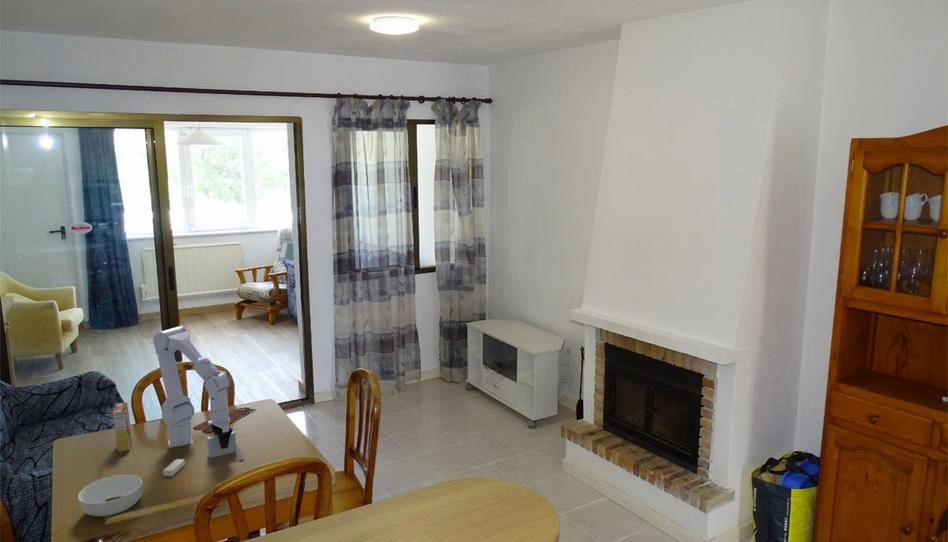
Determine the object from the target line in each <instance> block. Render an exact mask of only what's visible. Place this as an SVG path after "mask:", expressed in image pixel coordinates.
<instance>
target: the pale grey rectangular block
mask: <svg viewBox="0 0 948 542" xmlns="http://www.w3.org/2000/svg"><path fill="white" fill-rule="evenodd" d="M206 445H207V456H208V458H209V459H212V458H215V457H216V458H217V457H219V456H220V457H221V456H224V455H228V454H232V453H235V455H236V454H237V451H236V446H237V438H236V432H235V430H233V431H232V433H231V435H230V439H229V444H228V448H224V449H221V446H220V442H219V439H218V436H217V434H216V435H214V434H213V435H211V434H210V435H208V436H206Z"/></svg>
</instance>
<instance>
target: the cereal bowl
mask: <svg viewBox="0 0 948 542" xmlns="http://www.w3.org/2000/svg"><path fill="white" fill-rule="evenodd" d="M143 491H144V483H143V479H142V477H139V476H137V475H135V474H134V475H133V474H117V475H113V476H107V477H105V478H101V479H98V480H95V481H93V482H91V483H90V484H88V485H86V486H85V487H83V488H82V489H81V490H80V492H79V493H78V495H77V500H78V504H79V507H80V509H81V510H82V511H83V513H85V514H87V515H89V516H94V517H108V516H109V517H110V516H112V517H113V516H115V515H117V514H119V513H123V512H124V511H127V510H128V509H129V508H131V507H133V506H134V505H135V504H136V503H137V502H138V501H139V500H140V499H141V496H142V495H143ZM118 497H119V498H118ZM113 498H115V499H113ZM109 499H111V500H109ZM107 500H108V501H107Z"/></svg>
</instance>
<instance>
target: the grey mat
mask: <svg viewBox="0 0 948 542" xmlns="http://www.w3.org/2000/svg"><path fill="white" fill-rule="evenodd" d="M236 451H237V454H235V456H236V458H237V460H238V461H239V462H242V461H245V459H244V457H243V455H242V452H241V449H240V448H239V445H236Z"/></svg>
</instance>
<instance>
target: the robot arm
mask: <svg viewBox="0 0 948 542" xmlns="http://www.w3.org/2000/svg"><path fill="white" fill-rule="evenodd" d="M152 341H153V345H154V351H155V353H156V356H157V359H158V364H159V369H160V373H161V377H162V382H163V385H164V391H165V395H166V400H165V401H164V402H163V404H162V405H161V410H162V411H161V412H162V414H161V418H162V422H163V423H164V424H165V425H166V426H167V427H168V433H169V434H168V438H169V439H168V441H167V445H168V448H176V447H183V446H186V445H190V444H193V443H194V441H193V438H192V430H191V429H192V428H191V421H192V417H194V415H195V406H194V405H193V404H192V401H191V398H190V397H188V396H186V395H185V394H184V393H183V387H182V383H181V380H180V378H181V377H180V375H179V374H180V373H179V370H178V366H177V362H176V357H175V353H176V351H180V353H181V354H183V355H184V356H185V357H186V358H187V359H188V360H190V362H192V363H193V369H194V371H195V373H197V375H198V376H199V377H200V378H201V379H202V380H203V382H205V383H204V388H205V389H206V391H207V395H208V398H209V401H210V402H209V403H210V404H209V405H210V419H211V421H208V424H209V425H211V427H212V429H213V432H212V433H213V435H216V434H217V436H218V439H219V442H220V446H221V449H224V448H228V444H229V439H230V435H231V433H232V431H234V429H233V427H229V426H230V424H229V422H230V418H229V412H230V411H229V397H228V387H230V386H231V378H230V375H229V374H228V373H227V372H226V371H222V370H221V369H219V368H217V367H216V366H215V364H214V363H213V362H212V361H211V360H210V359H209V358H208V357H203V356H202V355H201V354H200V352H199V351H198V349H197V348H196V347H195V345H194V344H193V343H192V341H191V340H190V333H189V332H188V330H187V329H186V328H185V327H184V326H182V325H178V326H175V327H172V328H168V329H166V330H162V331H161V330H160V331H157V332H156V333H155V334H154V336H153V337H152Z"/></svg>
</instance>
